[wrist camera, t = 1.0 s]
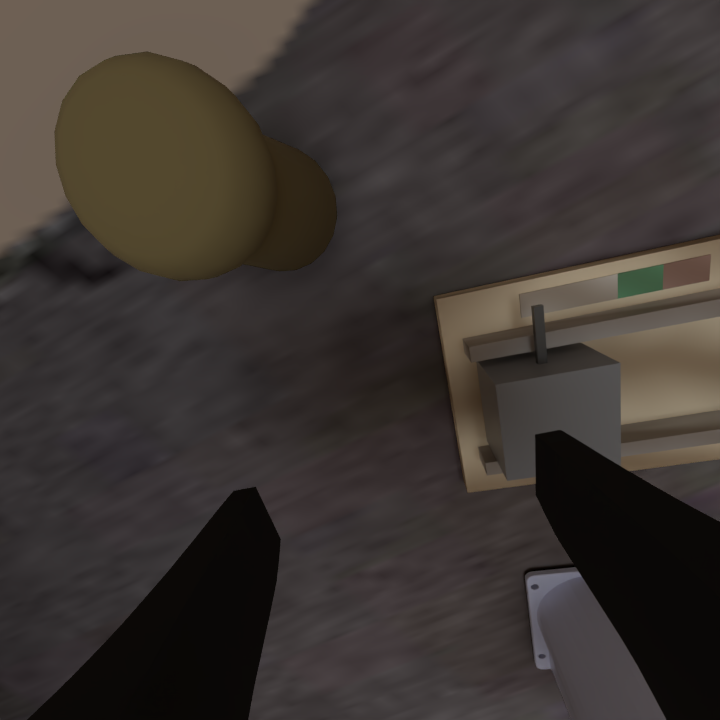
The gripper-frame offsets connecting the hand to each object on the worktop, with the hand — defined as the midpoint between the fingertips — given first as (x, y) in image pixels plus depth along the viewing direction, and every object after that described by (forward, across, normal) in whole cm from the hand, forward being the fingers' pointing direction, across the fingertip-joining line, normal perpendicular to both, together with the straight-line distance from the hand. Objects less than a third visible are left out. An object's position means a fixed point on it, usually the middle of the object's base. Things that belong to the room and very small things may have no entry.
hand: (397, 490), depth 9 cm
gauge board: (+10, -13, +5) cm, 17 cm away
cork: (+13, +3, -7) cm, 15 cm away
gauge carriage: (+9, -7, +3) cm, 12 cm away
